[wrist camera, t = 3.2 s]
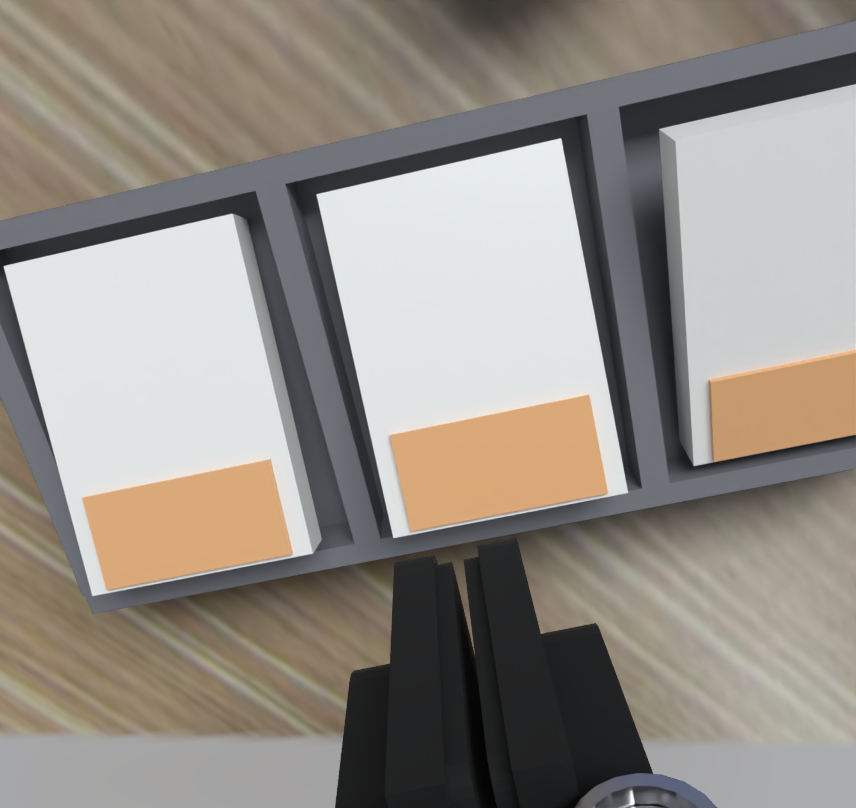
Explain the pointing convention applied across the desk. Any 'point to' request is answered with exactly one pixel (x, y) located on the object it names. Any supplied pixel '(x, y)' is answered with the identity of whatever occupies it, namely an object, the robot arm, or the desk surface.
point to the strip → (324, 321)
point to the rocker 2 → (763, 275)
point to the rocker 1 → (166, 404)
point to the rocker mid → (475, 339)
